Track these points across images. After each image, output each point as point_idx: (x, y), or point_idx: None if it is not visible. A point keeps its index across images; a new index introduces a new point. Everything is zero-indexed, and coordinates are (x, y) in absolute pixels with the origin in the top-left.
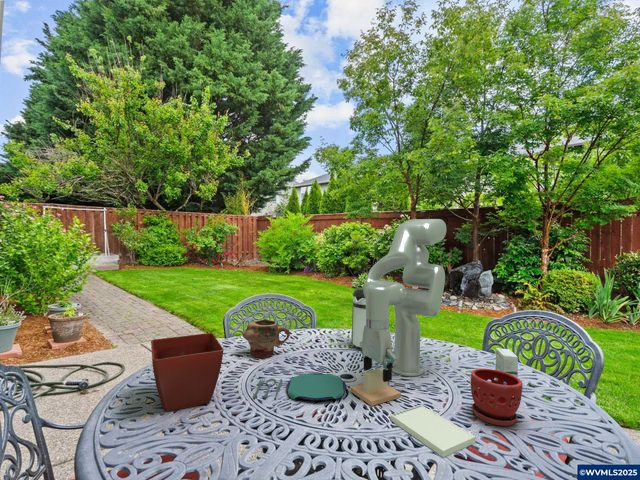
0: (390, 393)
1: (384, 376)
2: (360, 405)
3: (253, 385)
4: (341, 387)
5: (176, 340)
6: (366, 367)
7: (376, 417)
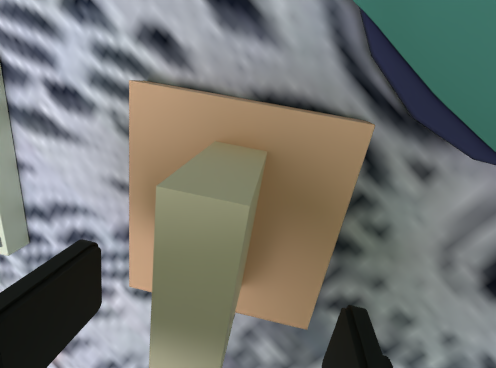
0: (150, 245)
1: (41, 269)
2: (193, 34)
3: None
4: (433, 71)
5: None
6: (343, 338)
7: (45, 7)
